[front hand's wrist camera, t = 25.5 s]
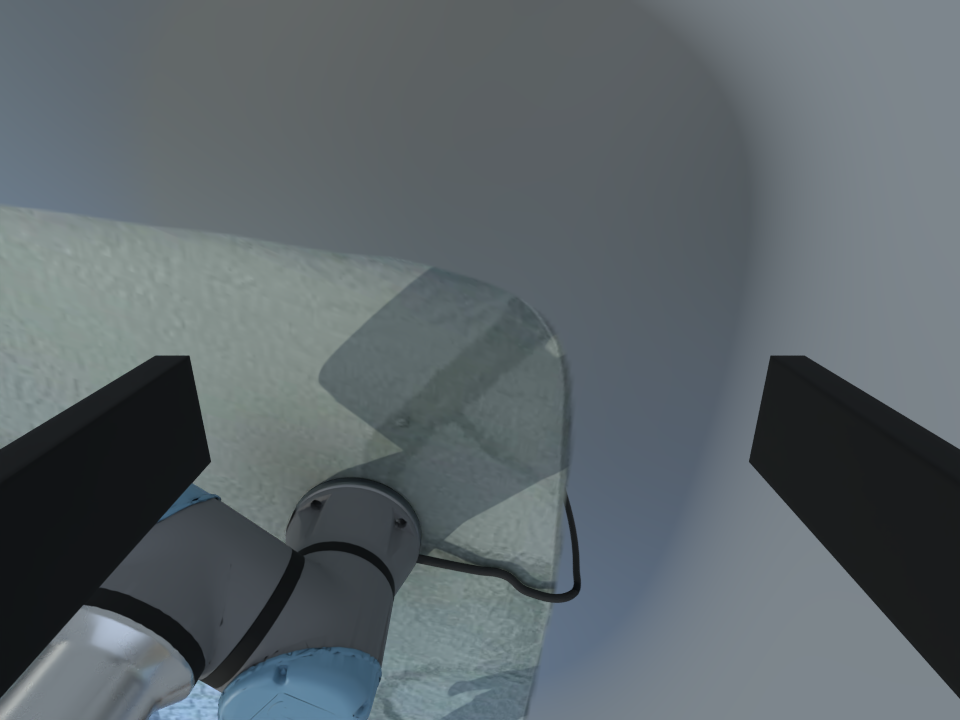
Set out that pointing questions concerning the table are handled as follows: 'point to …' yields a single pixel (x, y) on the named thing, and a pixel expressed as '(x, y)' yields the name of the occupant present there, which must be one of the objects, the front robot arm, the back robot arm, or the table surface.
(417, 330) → the table surface
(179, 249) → the table surface
